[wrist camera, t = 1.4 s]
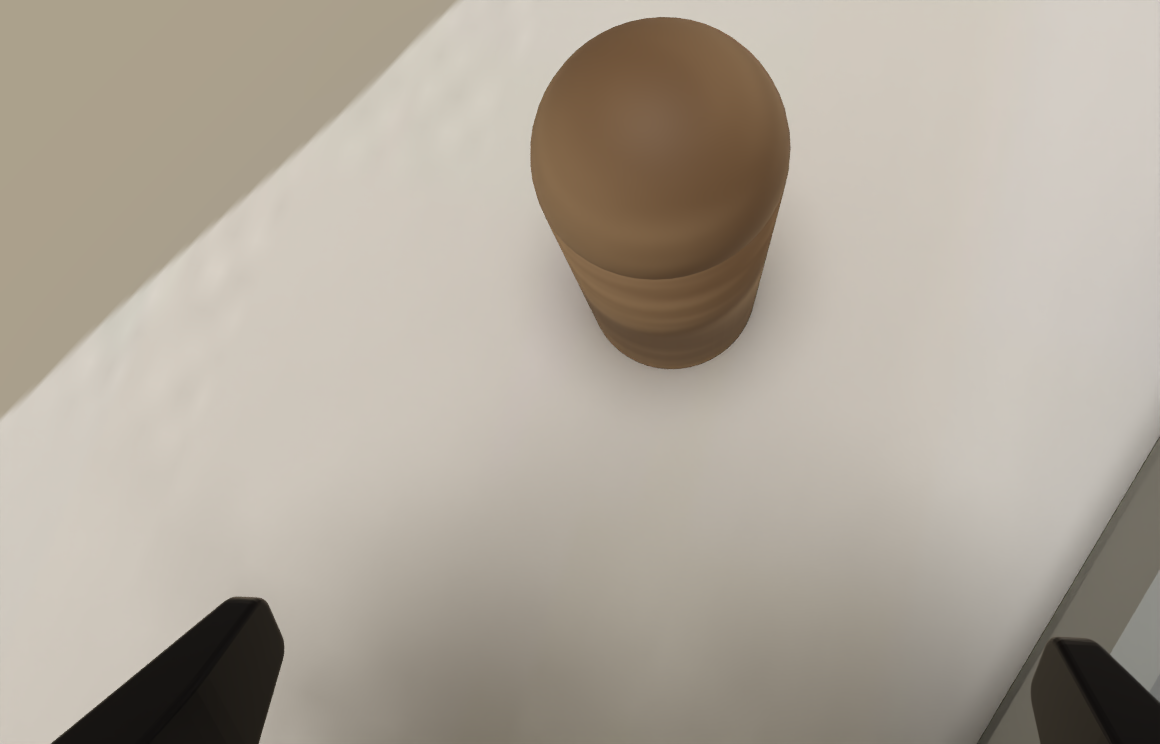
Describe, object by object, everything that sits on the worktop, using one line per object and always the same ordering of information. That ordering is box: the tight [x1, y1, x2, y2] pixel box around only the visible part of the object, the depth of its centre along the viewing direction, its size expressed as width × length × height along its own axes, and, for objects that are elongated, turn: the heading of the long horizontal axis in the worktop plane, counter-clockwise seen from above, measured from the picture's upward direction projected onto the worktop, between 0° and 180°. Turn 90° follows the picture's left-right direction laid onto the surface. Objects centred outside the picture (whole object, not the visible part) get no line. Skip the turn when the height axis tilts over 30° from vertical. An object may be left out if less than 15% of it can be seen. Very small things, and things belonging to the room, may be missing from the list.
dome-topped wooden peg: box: [531, 17, 790, 369], centre depth 19 cm, size 5×5×11 cm
